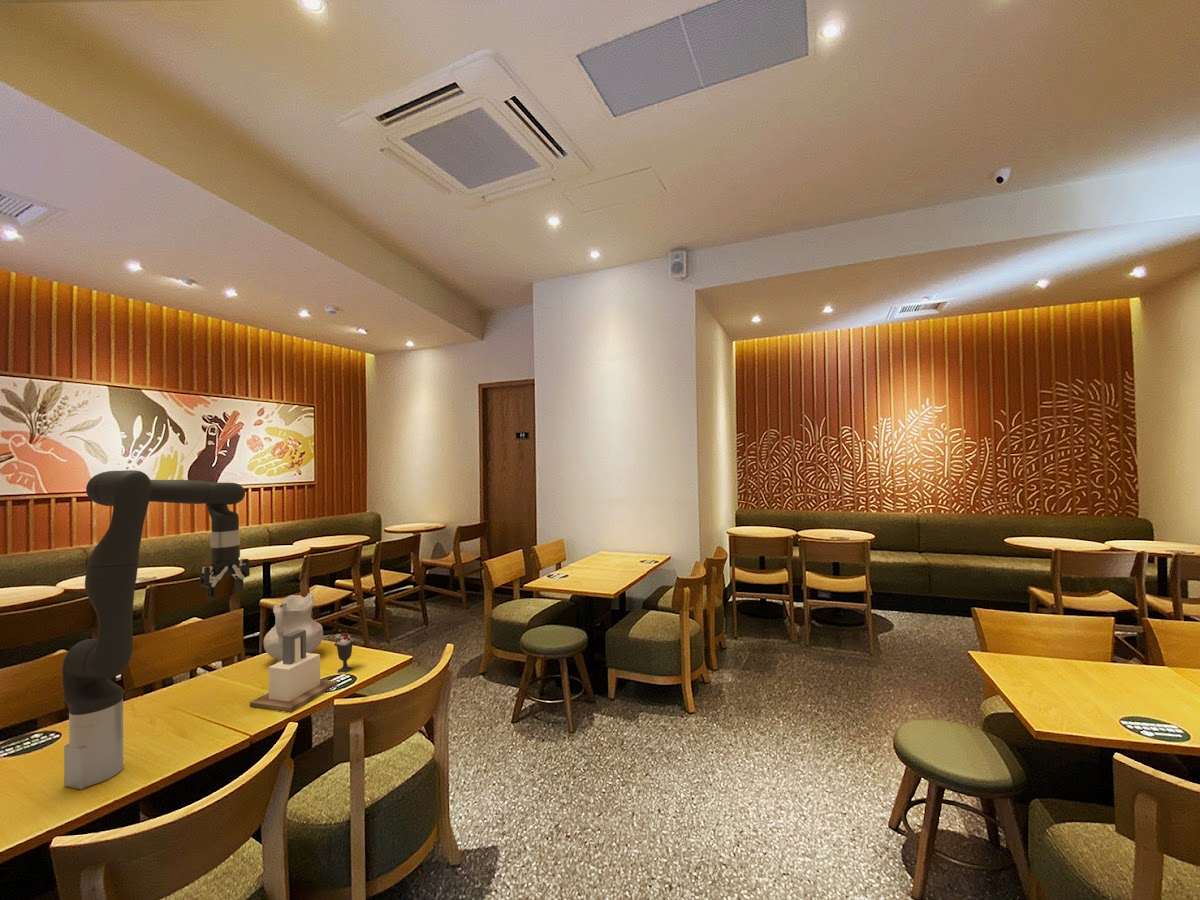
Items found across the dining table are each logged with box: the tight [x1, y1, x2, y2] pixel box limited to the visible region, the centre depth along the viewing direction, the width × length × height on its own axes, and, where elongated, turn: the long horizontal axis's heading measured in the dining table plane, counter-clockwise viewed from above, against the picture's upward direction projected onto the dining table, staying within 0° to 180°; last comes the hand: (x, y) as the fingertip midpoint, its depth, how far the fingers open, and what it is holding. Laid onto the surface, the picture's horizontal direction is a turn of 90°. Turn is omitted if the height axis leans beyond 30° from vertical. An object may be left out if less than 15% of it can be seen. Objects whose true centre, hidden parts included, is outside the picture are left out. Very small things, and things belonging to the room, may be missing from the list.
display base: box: [249, 678, 338, 714], centre depth 157 cm, size 18×16×2 cm
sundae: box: [333, 629, 356, 673], centre depth 177 cm, size 7×7×15 cm
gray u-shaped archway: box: [283, 629, 306, 665], centre depth 158 cm, size 6×3×9 cm, turn 164°
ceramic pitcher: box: [263, 592, 324, 664], centre depth 186 cm, size 22×20×25 cm
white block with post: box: [268, 637, 321, 702], centre depth 158 cm, size 12×8×18 cm, turn 165°
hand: (225, 594), depth 155 cm, fingers open, 8 cm apart
